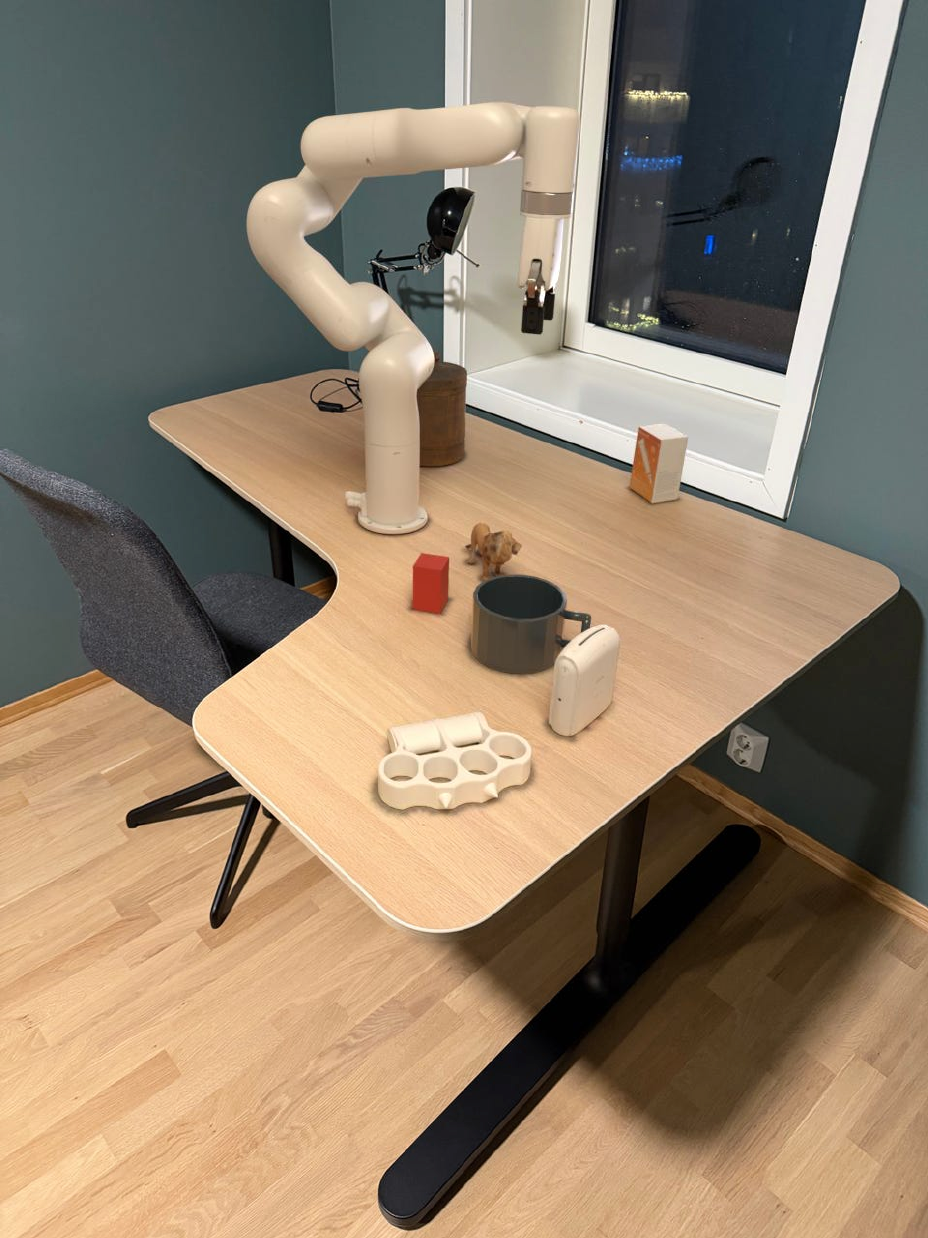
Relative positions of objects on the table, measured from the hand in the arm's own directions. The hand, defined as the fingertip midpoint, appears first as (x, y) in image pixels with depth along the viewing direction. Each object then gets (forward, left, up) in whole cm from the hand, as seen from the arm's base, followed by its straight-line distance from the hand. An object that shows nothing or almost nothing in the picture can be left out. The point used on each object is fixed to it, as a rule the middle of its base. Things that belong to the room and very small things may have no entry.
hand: (537, 326), depth 136 cm
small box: (+21, +28, -37) cm, 51 cm away
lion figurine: (-3, -13, -37) cm, 39 cm away
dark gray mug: (+8, -35, -37) cm, 51 cm away
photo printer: (+17, -48, -37) cm, 63 cm away
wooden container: (-27, +34, -37) cm, 57 cm away
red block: (-9, -27, -37) cm, 46 cm away
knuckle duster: (+4, -63, -37) cm, 73 cm away
